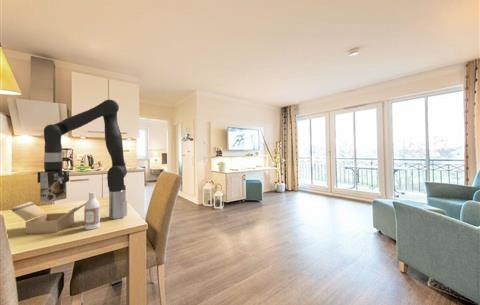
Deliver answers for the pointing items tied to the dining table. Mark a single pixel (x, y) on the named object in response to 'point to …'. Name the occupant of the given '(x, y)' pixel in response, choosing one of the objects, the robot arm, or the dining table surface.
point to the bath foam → (92, 212)
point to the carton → (49, 223)
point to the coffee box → (51, 187)
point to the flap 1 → (27, 211)
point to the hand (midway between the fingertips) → (53, 190)
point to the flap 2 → (73, 210)
